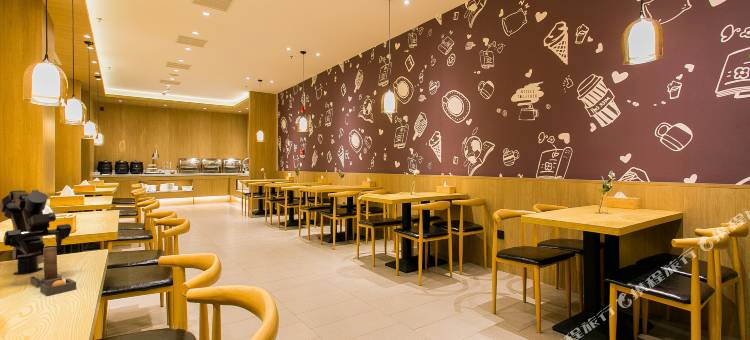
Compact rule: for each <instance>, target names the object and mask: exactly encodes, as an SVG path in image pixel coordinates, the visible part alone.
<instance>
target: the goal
mask: <svg viewBox="0 0 750 340" xmlns="http://www.w3.org/2000/svg"><path fill="white" fill-rule="evenodd" d="M39 290H40V291H39V292H40V293H42V294H43V295H44V296H46V297H48V296H49V297H50V296H53V295H57V294H61V293H65V292H71V291H74V290H77V282H76V281H75V280H73V279H71V278H70V277H69V278H68V277H67V278H65V284H62V285H57V286H53V287H48V286H47V285H45V284H40V287H39Z"/></svg>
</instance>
